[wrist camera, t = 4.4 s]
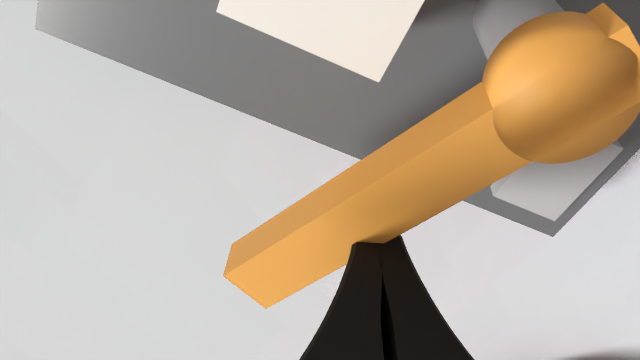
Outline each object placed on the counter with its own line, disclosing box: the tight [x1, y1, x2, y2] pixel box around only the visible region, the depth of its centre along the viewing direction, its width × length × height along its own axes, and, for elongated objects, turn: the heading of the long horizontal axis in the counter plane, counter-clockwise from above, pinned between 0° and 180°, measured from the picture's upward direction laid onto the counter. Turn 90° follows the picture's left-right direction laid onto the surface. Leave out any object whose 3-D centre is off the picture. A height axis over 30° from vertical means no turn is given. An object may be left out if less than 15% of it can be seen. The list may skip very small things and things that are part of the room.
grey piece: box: [35, 0, 640, 237], centre depth 14 cm, size 18×10×6 cm, turn 67°
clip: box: [223, 2, 640, 308], centre depth 12 cm, size 10×3×1 cm, turn 131°
